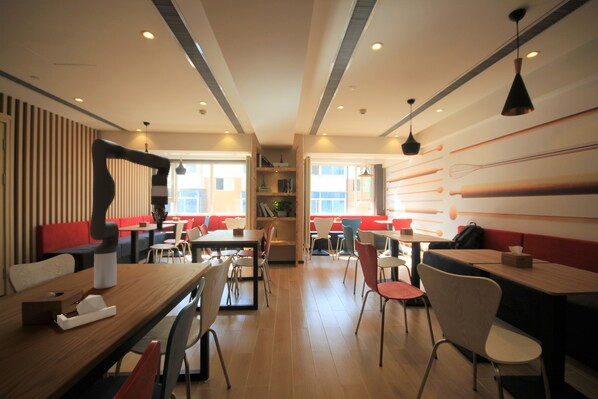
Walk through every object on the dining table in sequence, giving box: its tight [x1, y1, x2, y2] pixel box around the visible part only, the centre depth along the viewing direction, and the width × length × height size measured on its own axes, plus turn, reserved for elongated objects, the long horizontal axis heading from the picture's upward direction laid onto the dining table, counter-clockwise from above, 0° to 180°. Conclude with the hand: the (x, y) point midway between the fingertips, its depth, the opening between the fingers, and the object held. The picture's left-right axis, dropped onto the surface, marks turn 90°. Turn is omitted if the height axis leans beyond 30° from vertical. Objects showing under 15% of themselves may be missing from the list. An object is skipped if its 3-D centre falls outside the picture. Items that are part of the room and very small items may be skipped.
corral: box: [55, 305, 117, 331], centre depth 97 cm, size 17×15×3 cm
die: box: [76, 294, 108, 316], centre depth 95 cm, size 8×9×10 cm
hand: (159, 230), depth 127 cm, fingers closed
